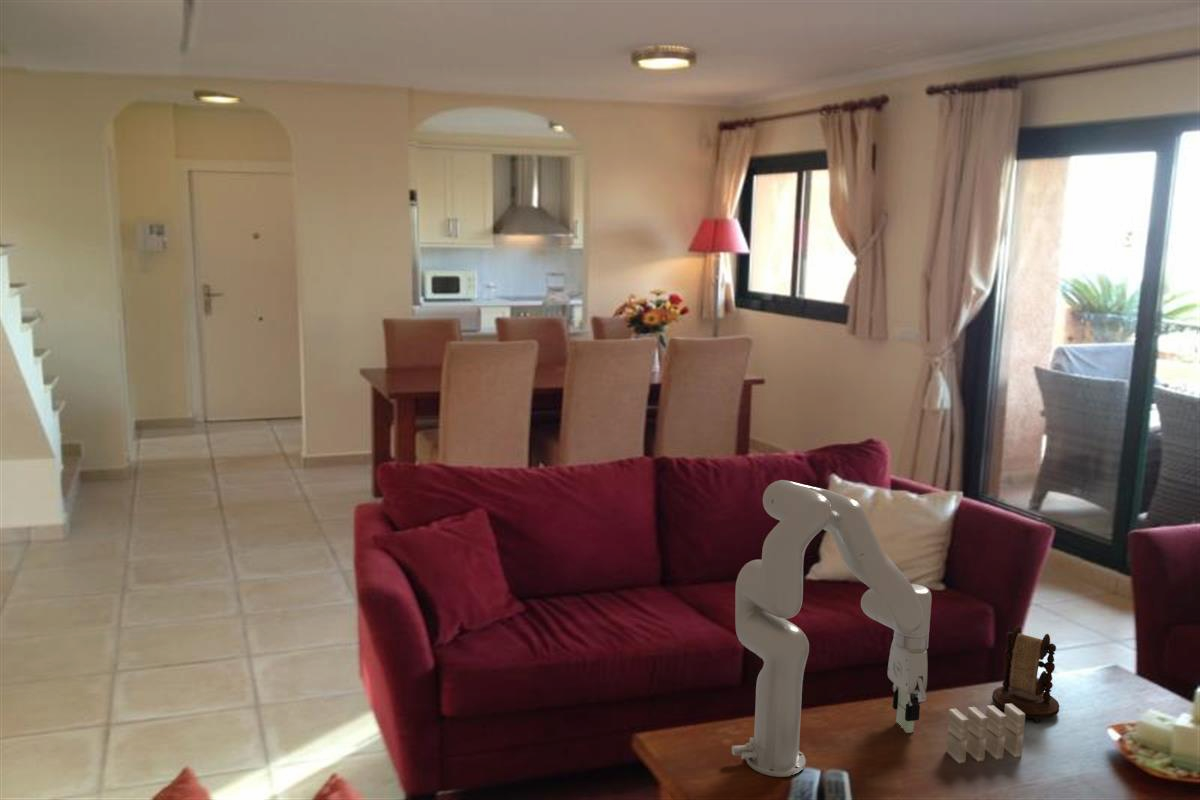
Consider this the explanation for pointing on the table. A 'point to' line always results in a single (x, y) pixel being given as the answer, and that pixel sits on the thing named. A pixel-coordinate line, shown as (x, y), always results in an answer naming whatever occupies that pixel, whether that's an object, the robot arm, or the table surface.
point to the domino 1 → (903, 712)
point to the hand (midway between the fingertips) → (905, 713)
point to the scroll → (1027, 676)
